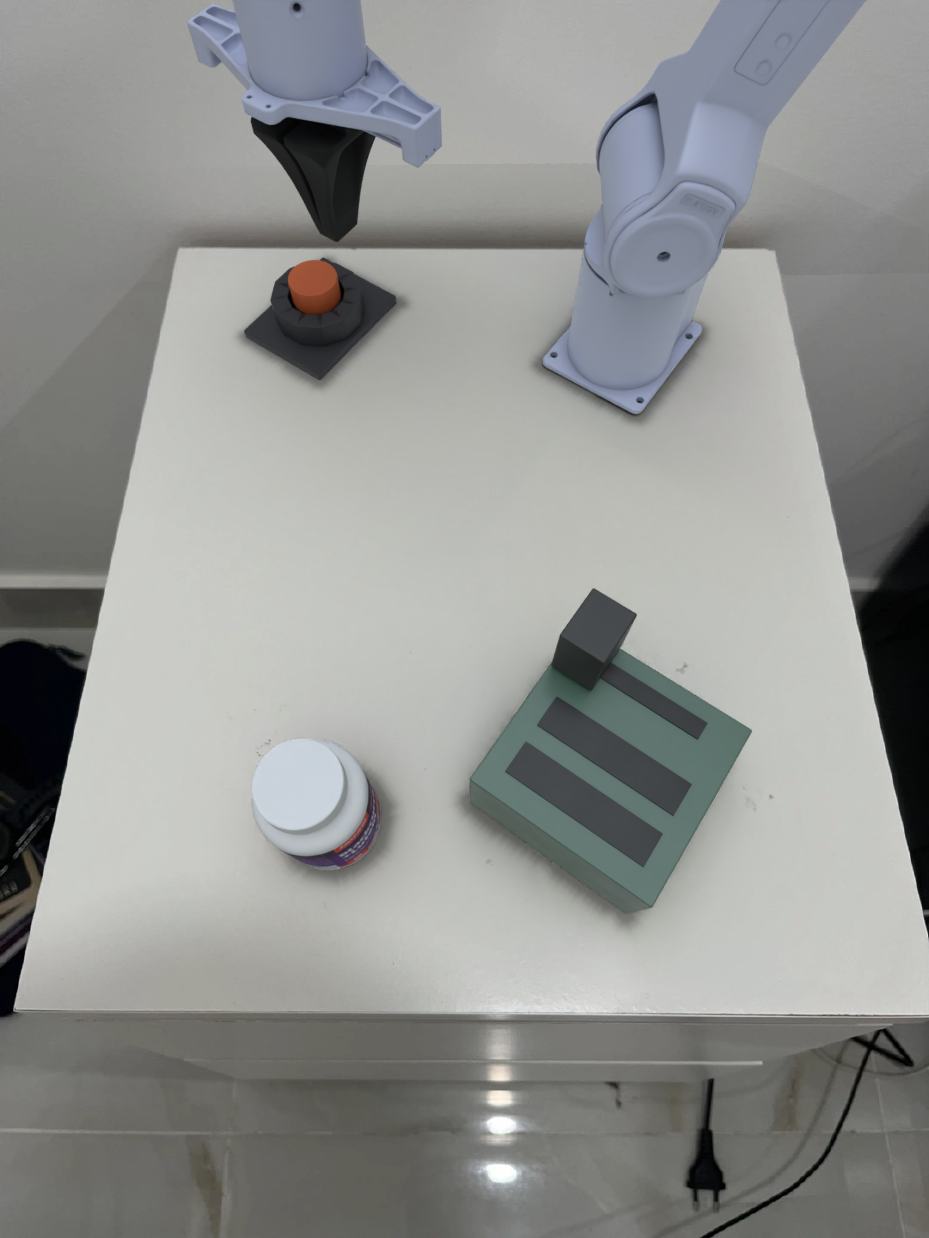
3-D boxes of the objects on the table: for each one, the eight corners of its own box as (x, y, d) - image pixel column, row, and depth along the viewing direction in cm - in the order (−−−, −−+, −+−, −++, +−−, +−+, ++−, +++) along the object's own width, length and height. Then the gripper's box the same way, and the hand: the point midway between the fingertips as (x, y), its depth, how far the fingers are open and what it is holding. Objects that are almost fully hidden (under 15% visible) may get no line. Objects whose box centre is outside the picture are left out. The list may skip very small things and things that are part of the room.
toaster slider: (581, 621, 39) (593, 587, 36) (621, 645, 39) (637, 613, 35) (550, 665, 38) (559, 635, 35) (591, 691, 38) (604, 663, 34)
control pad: (324, 264, 58) (318, 236, 56) (397, 303, 57) (394, 276, 54) (245, 337, 55) (236, 311, 53) (319, 381, 54) (313, 355, 51)
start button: (313, 273, 55) (309, 252, 53) (350, 293, 54) (347, 273, 53) (283, 301, 54) (277, 282, 52) (320, 322, 53) (315, 303, 51)
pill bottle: (369, 880, 40) (340, 860, 31) (271, 859, 41) (216, 833, 32) (393, 780, 42) (373, 734, 33) (300, 761, 43) (256, 711, 34)
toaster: (565, 662, 45) (579, 621, 39) (716, 758, 43) (754, 729, 37) (468, 802, 42) (469, 778, 36) (626, 914, 39) (652, 908, 34)
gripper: (102, -58, 33) (203, 218, 46) (362, 59, 30) (394, 323, 42) (213, -127, 36) (280, 153, 48) (466, -26, 32) (467, 248, 44)
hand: (338, 228), depth 45 cm, fingers closed
